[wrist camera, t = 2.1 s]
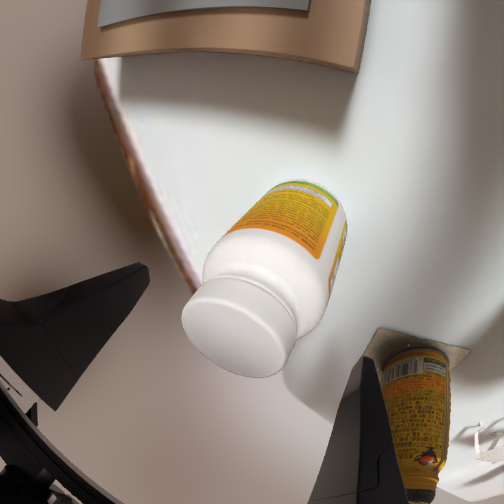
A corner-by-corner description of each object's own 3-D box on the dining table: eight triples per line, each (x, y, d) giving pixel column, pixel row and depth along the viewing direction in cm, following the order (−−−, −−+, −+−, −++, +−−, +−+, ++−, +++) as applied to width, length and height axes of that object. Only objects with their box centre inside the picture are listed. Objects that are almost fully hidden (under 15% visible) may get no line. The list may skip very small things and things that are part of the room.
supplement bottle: (246, 196, 17) (139, 293, 10) (324, 163, 14) (254, 261, 7) (285, 267, 19) (215, 386, 12) (361, 246, 16) (329, 390, 9)
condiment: (427, 394, 20) (409, 513, 11) (349, 376, 22) (308, 499, 13) (470, 348, 16) (469, 495, 7) (379, 324, 18) (343, 489, 9)
